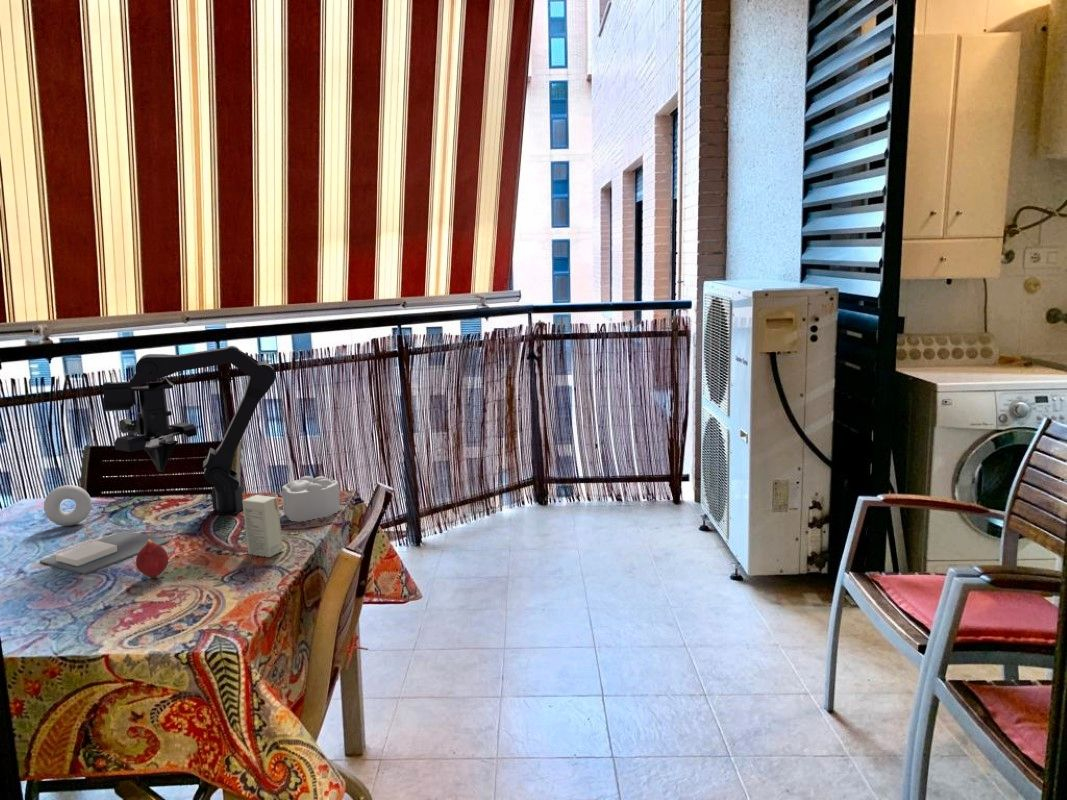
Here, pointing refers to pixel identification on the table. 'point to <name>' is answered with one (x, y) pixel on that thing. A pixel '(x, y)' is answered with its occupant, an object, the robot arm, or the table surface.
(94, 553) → the tile
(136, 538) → the mat
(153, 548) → the onion
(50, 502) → the donut
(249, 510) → the skincare box
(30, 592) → the table surface
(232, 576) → the table surface
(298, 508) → the lumpy-topped squat cylinder
